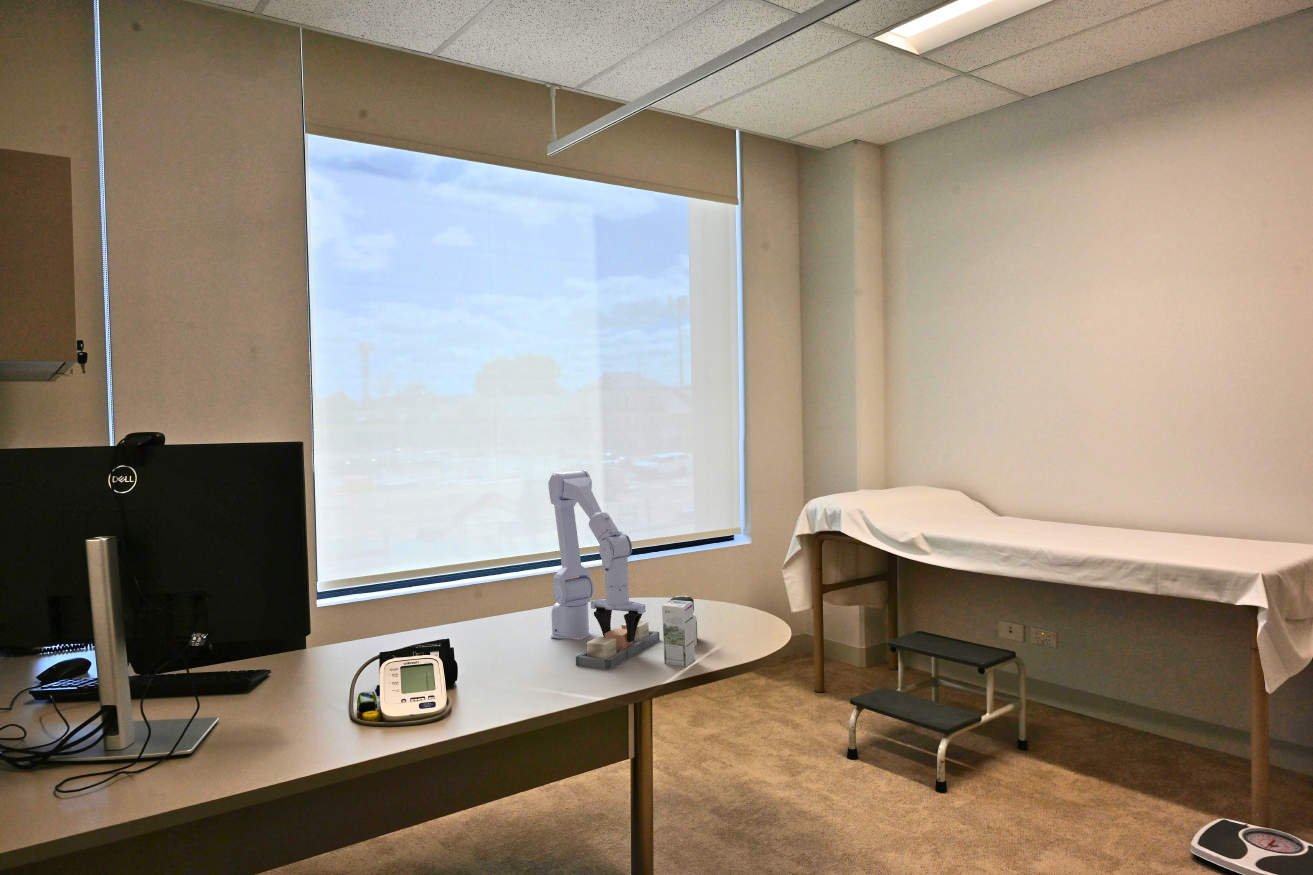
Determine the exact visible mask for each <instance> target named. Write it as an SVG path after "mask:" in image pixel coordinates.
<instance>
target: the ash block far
mask: <svg viewBox="0 0 1313 875" xmlns="http://www.w3.org/2000/svg"><path fill="white" fill-rule="evenodd" d="M621 629H627V627H626V622H625V623H623V624H621ZM649 631H650V630H649V621H645V620H639V623H638V626H637V629H636V633H635V640H642V639H644V638H645V637H647V636H649Z"/></svg>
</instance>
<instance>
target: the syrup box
mask: <svg viewBox="0 0 1313 875" xmlns="http://www.w3.org/2000/svg"><path fill="white" fill-rule="evenodd" d="M661 610H662V613H661V614H662V633H663V634H662V636H663V657H664V659H663V660H664V665H666V664H667V665H673V666H674V665H675V666H683V667H684V668H685V669H687V668H688V667H690V666H691V665H692V664H694V663H695V659H696V655H695V654H696V653H695V652H696V651H695V646H694V625H693V602H691V601H678V600H671V599H670V600H668V601H666V602H664V604H662V606H661Z"/></svg>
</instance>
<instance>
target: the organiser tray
mask: <svg viewBox="0 0 1313 875" xmlns="http://www.w3.org/2000/svg"><path fill="white" fill-rule="evenodd" d="M658 641H660V631H652V630H649V636H647V637H645V638H644V639H642V640H635V639H634V641H633V645H631V646H629V647H628V648H626V649H618V648H616V652H617V654H615V655H614V656H612V657H610V658H608V659H601V658H594V657H587V650H585V651H583V652H581V653H579V654H578V655H575V666H579V667H586V668H587V667H588V668H594V669H600V670H606V671H607V670H608V671H610V670H611V669H612V668H615V667H616V666H617V665H620V664H621V663H623V662H624V661H626V660H628V659H629V658H631V657H633V656H635V655H636V654H639V653H640V652H641V651H643V650H645V649H647V648H648V647H650V646H652V645H654V644H655V643H656V642H658Z"/></svg>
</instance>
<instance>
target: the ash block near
mask: <svg viewBox="0 0 1313 875" xmlns="http://www.w3.org/2000/svg"><path fill="white" fill-rule="evenodd" d="M586 651H587V657H594V658H601V659H608V658H610V657H612V656H614V655H615V654H617V652H616V639H613V638H605V637H603V636H597V637H595V638H593V639H591V640H589V641H587V642H586Z"/></svg>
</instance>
